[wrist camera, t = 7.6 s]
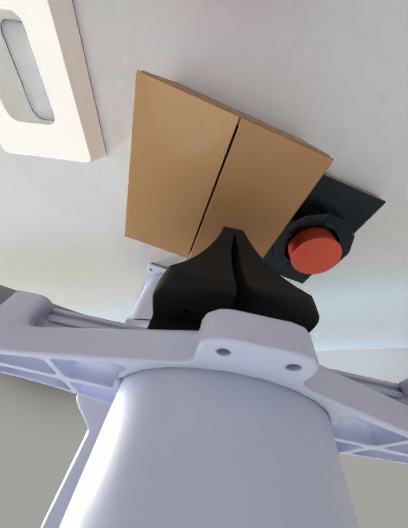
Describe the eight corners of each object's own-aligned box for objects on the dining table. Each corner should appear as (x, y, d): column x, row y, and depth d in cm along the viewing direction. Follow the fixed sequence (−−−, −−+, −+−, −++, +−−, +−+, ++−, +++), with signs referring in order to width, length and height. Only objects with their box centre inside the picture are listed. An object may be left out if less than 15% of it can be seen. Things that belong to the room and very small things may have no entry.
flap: (126, 234, 17) (124, 235, 17) (139, 70, 10) (136, 69, 10) (188, 255, 18) (187, 257, 18) (239, 116, 11) (239, 116, 11)
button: (313, 267, 22) (319, 279, 20) (279, 253, 21) (282, 265, 20) (344, 236, 19) (354, 248, 17) (305, 220, 18) (311, 230, 17)
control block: (299, 276, 27) (306, 295, 24) (247, 256, 26) (248, 273, 23) (377, 196, 19) (400, 211, 16) (306, 164, 18) (318, 174, 15)
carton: (153, 202, 23) (123, 236, 17) (174, 81, 16) (134, 67, 10) (245, 237, 24) (247, 281, 18) (302, 140, 17) (336, 159, 11)
